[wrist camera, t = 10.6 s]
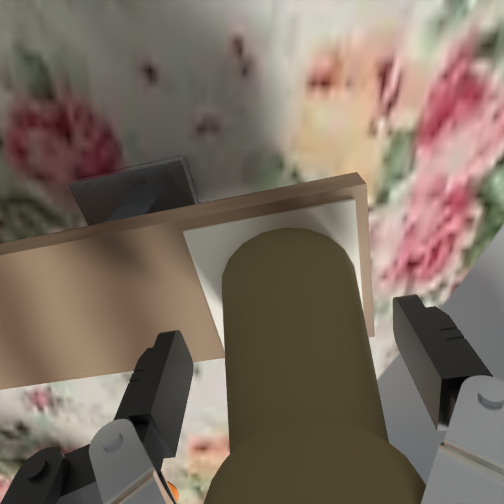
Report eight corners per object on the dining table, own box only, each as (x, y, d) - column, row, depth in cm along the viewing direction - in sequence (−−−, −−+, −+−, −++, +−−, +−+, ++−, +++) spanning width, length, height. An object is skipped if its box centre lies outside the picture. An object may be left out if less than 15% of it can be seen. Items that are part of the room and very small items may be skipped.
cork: (234, 213, 14) (174, 583, 4) (378, 243, 14) (624, 631, 5) (211, 326, 17) (146, 693, 7) (331, 347, 17) (420, 715, 8)
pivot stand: (76, 179, 21) (20, 215, 16) (184, 155, 20) (160, 186, 15) (136, 305, 26) (108, 362, 21) (226, 290, 25) (218, 346, 20)
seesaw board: (-28, 375, 21) (-69, 420, 19) (-124, 268, 17) (-192, 305, 15) (366, 316, 18) (384, 359, 16) (356, 172, 14) (378, 197, 12)
